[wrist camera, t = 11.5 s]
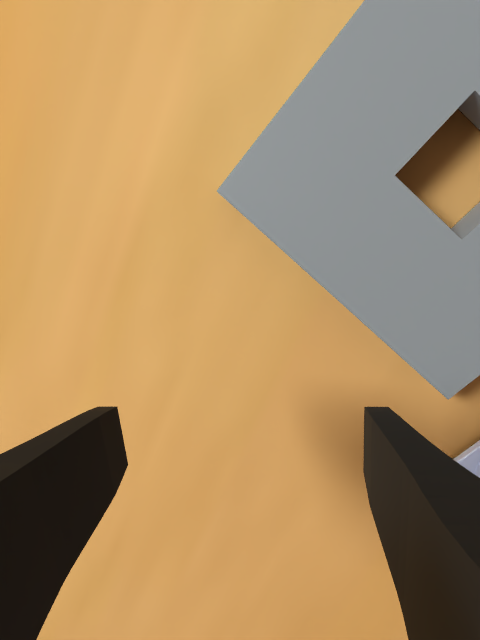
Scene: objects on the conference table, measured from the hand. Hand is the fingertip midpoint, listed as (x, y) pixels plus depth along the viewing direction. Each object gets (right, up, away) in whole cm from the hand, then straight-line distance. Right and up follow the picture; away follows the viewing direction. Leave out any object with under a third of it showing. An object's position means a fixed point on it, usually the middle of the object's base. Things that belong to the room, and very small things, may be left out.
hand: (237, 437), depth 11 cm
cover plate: (+9, +10, +6) cm, 15 cm away
